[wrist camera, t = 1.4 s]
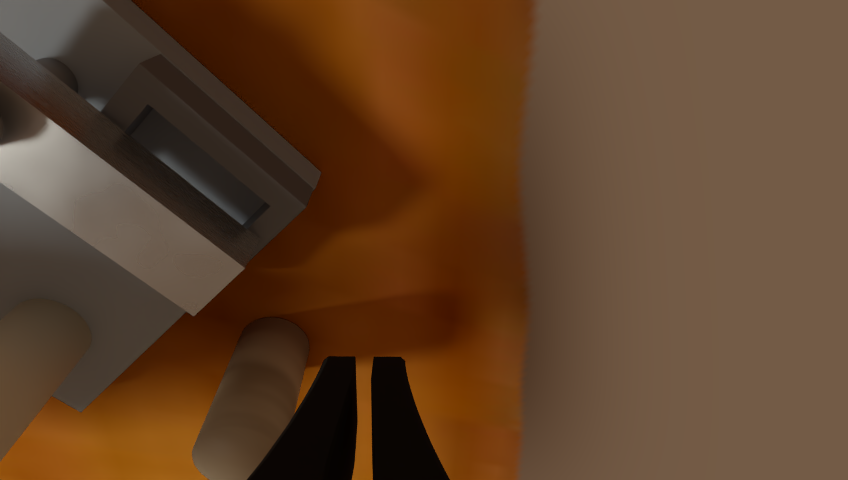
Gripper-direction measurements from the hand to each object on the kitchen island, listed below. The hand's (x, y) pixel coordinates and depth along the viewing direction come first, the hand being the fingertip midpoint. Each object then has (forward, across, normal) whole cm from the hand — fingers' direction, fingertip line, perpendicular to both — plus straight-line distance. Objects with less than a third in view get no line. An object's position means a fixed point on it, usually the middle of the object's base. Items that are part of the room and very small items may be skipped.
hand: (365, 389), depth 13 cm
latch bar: (+6, +8, -3) cm, 10 cm away
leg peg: (+9, +5, +6) cm, 12 cm away
